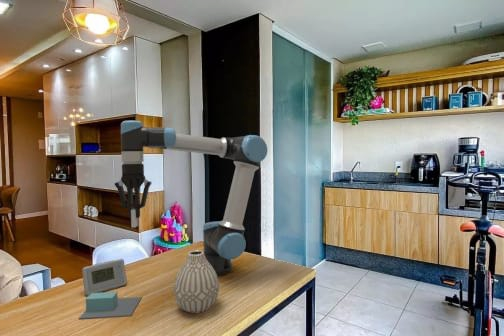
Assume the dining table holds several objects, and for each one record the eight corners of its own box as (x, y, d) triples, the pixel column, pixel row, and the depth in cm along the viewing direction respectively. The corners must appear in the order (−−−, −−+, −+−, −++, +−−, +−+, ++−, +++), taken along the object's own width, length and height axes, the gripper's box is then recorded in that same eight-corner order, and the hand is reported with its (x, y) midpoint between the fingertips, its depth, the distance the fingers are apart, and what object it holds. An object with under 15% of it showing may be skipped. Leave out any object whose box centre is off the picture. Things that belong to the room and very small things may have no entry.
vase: (181, 296, 115) (180, 245, 114) (222, 296, 115) (221, 245, 114) (168, 319, 99) (166, 260, 98) (215, 319, 99) (214, 260, 98)
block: (117, 291, 109) (91, 293, 108) (112, 297, 105) (85, 299, 104) (117, 303, 109) (91, 305, 108) (112, 310, 105) (85, 311, 104)
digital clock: (83, 297, 115) (82, 270, 115) (83, 288, 123) (82, 263, 123) (128, 288, 123) (127, 263, 123) (125, 280, 131) (124, 256, 131)
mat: (141, 298, 114) (141, 297, 114) (131, 316, 101) (130, 315, 101) (95, 300, 113) (95, 299, 113) (78, 319, 100) (78, 318, 100)
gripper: (153, 162, 114) (155, 223, 115) (118, 163, 113) (120, 224, 114) (148, 163, 106) (150, 228, 107) (110, 163, 105) (112, 229, 106)
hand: (134, 226), depth 111 cm, fingers closed
